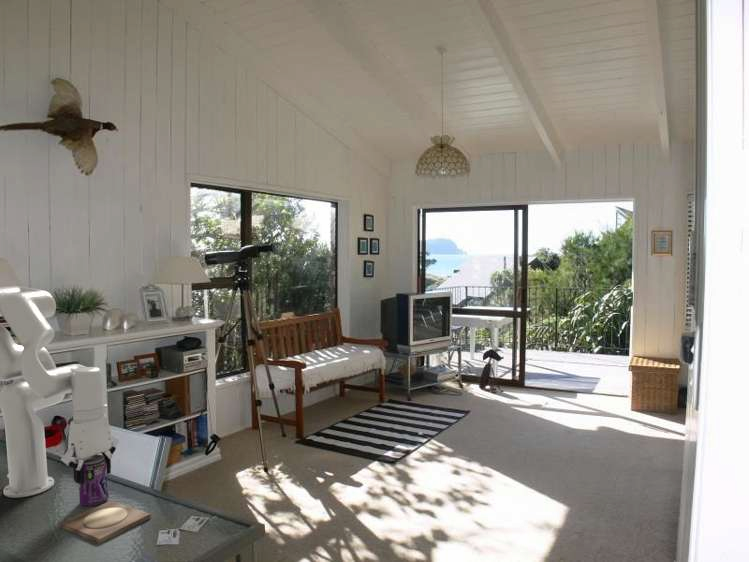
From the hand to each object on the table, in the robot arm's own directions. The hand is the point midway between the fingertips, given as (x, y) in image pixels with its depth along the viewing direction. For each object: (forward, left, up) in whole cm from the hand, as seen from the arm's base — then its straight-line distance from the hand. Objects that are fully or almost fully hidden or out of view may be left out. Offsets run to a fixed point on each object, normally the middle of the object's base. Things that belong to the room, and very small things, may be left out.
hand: (93, 477), depth 159 cm
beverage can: (0, 0, -7) cm, 7 cm away
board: (+14, -6, -7) cm, 17 cm away
